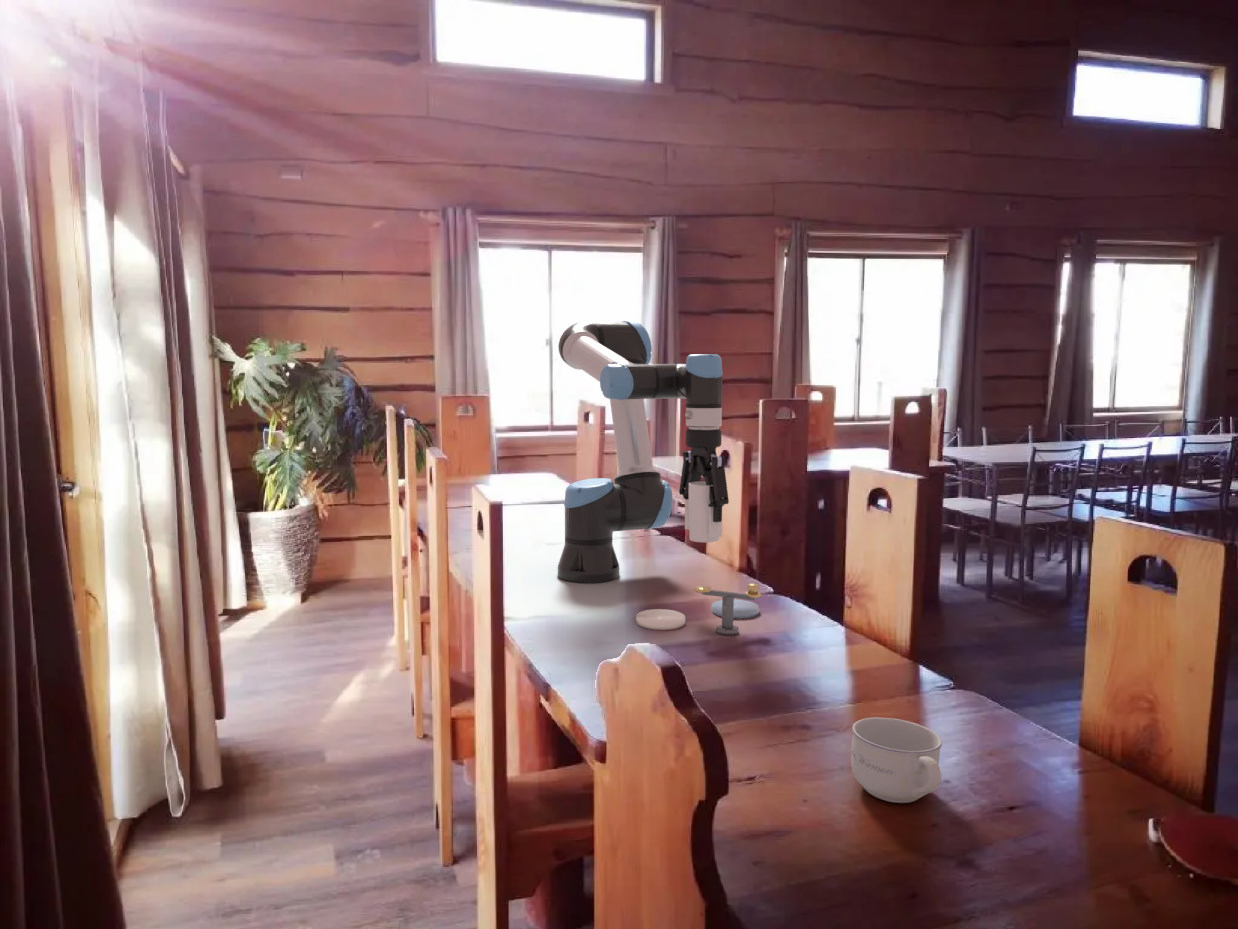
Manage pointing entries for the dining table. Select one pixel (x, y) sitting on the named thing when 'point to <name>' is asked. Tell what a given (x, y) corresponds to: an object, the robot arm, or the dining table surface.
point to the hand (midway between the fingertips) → (702, 532)
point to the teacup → (895, 758)
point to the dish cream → (660, 619)
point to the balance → (729, 605)
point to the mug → (699, 512)
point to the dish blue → (738, 609)
